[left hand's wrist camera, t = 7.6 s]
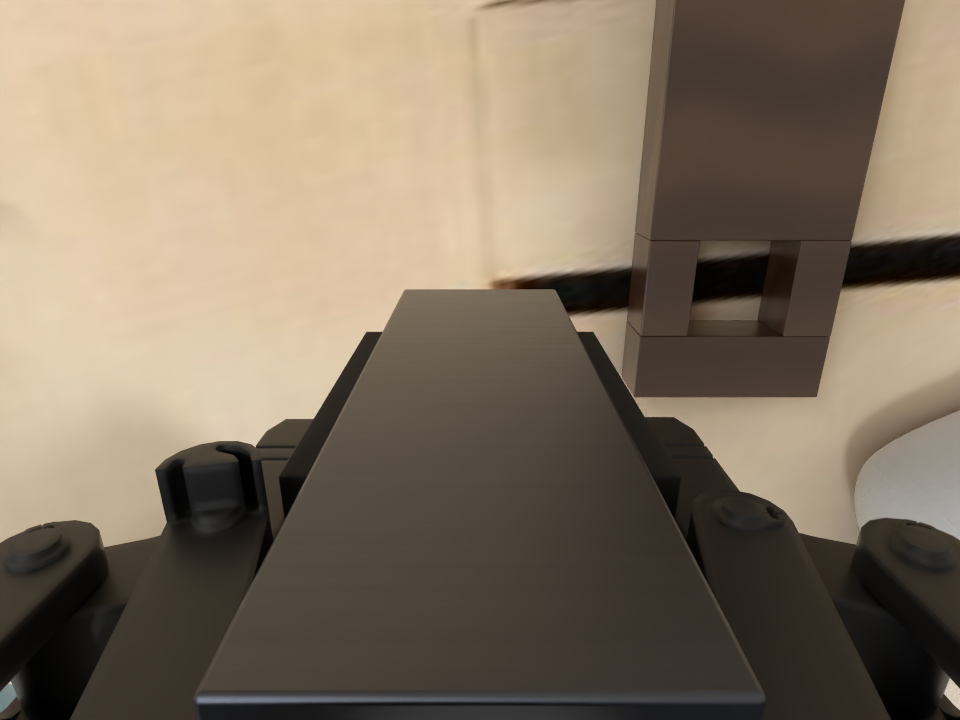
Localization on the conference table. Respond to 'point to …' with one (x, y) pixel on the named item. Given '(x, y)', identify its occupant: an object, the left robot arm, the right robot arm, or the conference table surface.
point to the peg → (479, 547)
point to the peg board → (752, 184)
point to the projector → (915, 478)
